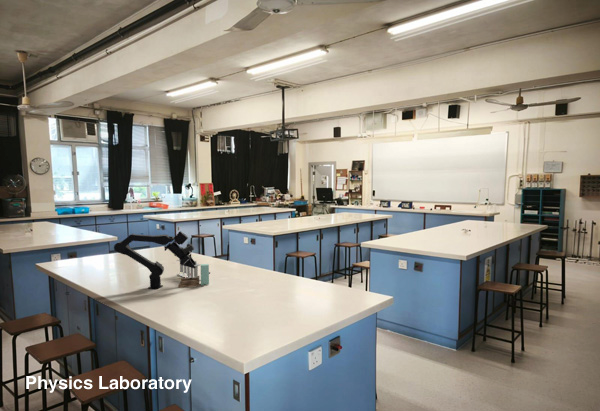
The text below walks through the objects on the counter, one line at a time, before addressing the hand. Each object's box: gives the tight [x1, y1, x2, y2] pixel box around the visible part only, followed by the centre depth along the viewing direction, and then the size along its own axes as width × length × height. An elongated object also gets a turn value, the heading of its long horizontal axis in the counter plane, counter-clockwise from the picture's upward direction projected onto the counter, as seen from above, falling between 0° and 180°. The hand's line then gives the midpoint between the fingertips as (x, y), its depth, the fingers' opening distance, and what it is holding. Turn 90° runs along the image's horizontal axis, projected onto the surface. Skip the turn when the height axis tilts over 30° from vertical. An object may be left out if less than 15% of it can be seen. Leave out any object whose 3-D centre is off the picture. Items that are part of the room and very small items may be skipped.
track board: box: [178, 275, 201, 289], centre depth 220 cm, size 12×10×4 cm
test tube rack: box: [176, 259, 202, 282], centre depth 236 cm, size 25×4×13 cm, turn 47°
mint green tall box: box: [200, 263, 211, 286], centre depth 222 cm, size 6×4×12 cm, turn 105°
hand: (195, 266), depth 220 cm, fingers open, 9 cm apart
